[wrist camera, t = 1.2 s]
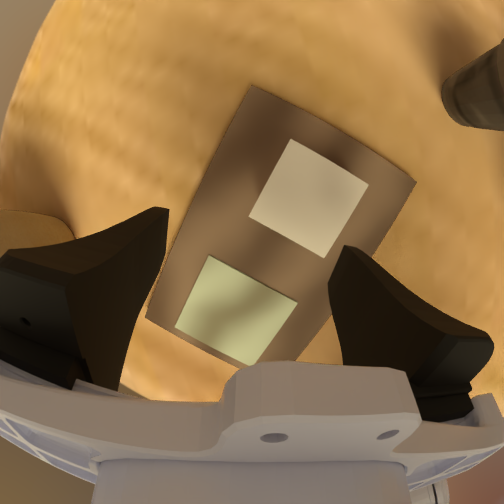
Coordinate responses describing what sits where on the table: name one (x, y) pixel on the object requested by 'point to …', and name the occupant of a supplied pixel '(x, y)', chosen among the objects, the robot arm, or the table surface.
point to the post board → (265, 240)
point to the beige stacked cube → (308, 198)
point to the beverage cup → (478, 92)
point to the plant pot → (30, 230)
